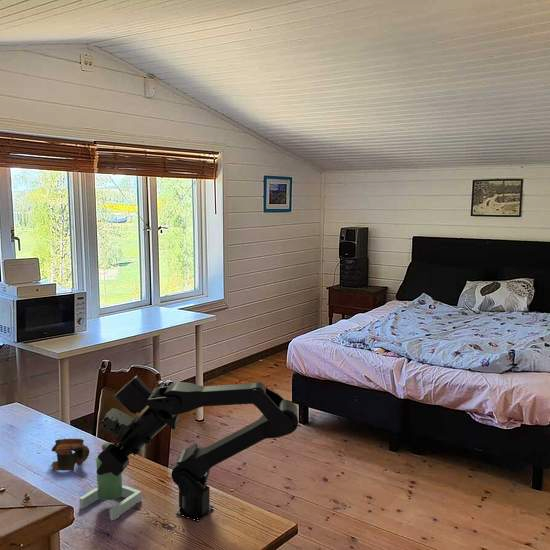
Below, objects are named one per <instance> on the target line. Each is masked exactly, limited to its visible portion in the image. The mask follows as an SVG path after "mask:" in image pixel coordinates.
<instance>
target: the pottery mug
mask: <svg viewBox="0 0 550 550" xmlns="http://www.w3.org/2000/svg"><path fill="white" fill-rule="evenodd" d="M54 442H55V444H54V445H53V446H52V447H51V452H55V453H56V459H57V460H56V461H53V462H52V463H51V465H52V471H54V472H55V471H75V466H76V465H78V466H81V465H83V464H84V463H85V462H86V460H87V459H88V457H89V455H90V448H89V447H88V446H87V445H85V444H84V442H85V440H84V439H82V438H61V439H60V438H59V439H56V440H55V441H54Z"/></svg>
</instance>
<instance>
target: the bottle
mask: <svg viewBox="0 0 550 550" xmlns="http://www.w3.org/2000/svg"><path fill="white" fill-rule="evenodd" d="M109 444H115V442H105V443H103V444H102V445H101V450H102V451H103V450H104V449H105V448H106V447H107V446H108V445H109ZM95 461H96V471H97V470H98V468H99V467H100V465H101V463H102V462H101V461H100V460H99V459H98V456H97V457H96V459H95ZM96 480H97V481H96V482H97V484H96V488H98V497H99V498H100V500H104V501H111V500H116V499H117V498H119V497H121V496H120V495H121V494H122V485H123V472H121V473H120V474H119V475H118V476H115V475H114V474H113V473H112V472H110V473H106V474H102V475H98V474H97V473H96Z"/></svg>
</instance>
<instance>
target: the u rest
mask: <svg viewBox="0 0 550 550" xmlns="http://www.w3.org/2000/svg"><path fill="white" fill-rule="evenodd" d="M119 497H121V498H124V499H123V500H122V501H120V502H119V503H117V504H115V505H114V506H113V507H111V508H110V509H109V520H110V519H112V520H114V519H115V518H117V517H118V516H120V515H121V514H122V515H124V514H125V513H126V512H125V511H127V510H128V509H129V510H131V509H132V508H133V507H132V506H134V505H135V504H136V503H138V502H139V503H141V502H142V501H143V500H142V491H141V490H139V489H135V488H133V487H130V486H127V485H125V484H122V494H121V495H120V496H119ZM99 499H100V498H99V497H98V488H97V487H95V488H94V489H92V490H89V492H87V493H86V494H84V495H82V496H81V497H79V509H81V508H82V509H81V510H83V508H84V509H85V508H87V507H88V505H89V506H91V504H94V503H95V502H96V501H98V500H99ZM100 500H101V499H100ZM141 500H142V501H141ZM140 501H141V502H140ZM139 503H138V504H139ZM135 506H136V505H135ZM135 506H134V507H135ZM131 507H132V508H131ZM130 508H131V509H130ZM129 510H128V511H129ZM128 511H127V512H128ZM124 512H125V513H124ZM123 513H124V514H123ZM122 515H121V516H122ZM121 516H120V517H121ZM118 518H119V517H118ZM118 518H117V519H118ZM112 520H111V521H112ZM115 520H116V519H115ZM115 520H114V521H115Z"/></svg>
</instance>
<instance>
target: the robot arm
mask: <svg viewBox="0 0 550 550" xmlns="http://www.w3.org/2000/svg"><path fill="white" fill-rule="evenodd" d="M113 397H114V398H115V399H116V400H117V401H118V402H120V404H121V405H122V406H123V407H125V409H127V410H128V411H129V412H130V413H131V414H133V415H136V414H137V413H138V414H140V413H141V414H140V415H137V416H135V418H133V417H131V416H130V415H129V414H127V413H125V412H123V411H121V410H119V409H117V408H114V407H113V408H111V409H110V410H109V411H107V412H106V414H105V415H104V418H103V419H102V420H101V422H100V424H101V425H100V427H101V428H102V430H103V431H106V432H108V433H110V434H115V435H116V436H115V439H116V440H117V441H118V443H117V444H116V443H114V444H109V445H108V446H107V447H106V448H105V449H104V450H102V451H101V452H100V453H99V454H98V455H97V457H98V459H99V460H100V461H101V462H102V463H101V465H100V467H99V468H98V470H97V469H96V471H95V472H96V475H97V474H98V475H102V474H106V473H110V472H112V473H113V474H114V475H115V476H118V475H119V474H120V473H121V472H122V473H123V472H124V471H125V470H126V468H127V467H128V466H129V465H130V458H129V457H128V456H130V455H132V454H133V456H136V455H137V454H138V453H139V452H140V451H141V449H142V448H143V447H144V446H145V445H148V444H149V443H150V442H151V441H152V440H153V438H154V437H155V436H156V435H157V434H158V433H159V432H161V430H162V429H164V427H166V426H168V427H169V428H170V429H171V430H175V429H176V428H177V426H178V425H179V415H181V414H185V413H189V412H190V413H191V412H192V411H194V410H196V409H199V408H204V407H216V406H217V407H218V406H221V407H222V406H233V405H235V406H237V405H248V404H249V405H251V404H252V405H253V406H255V408H257V409H258V410H259V411H260V413H261V414H262V415H261V416H260V417H259V419H257V420H255V421H253V422H251V423H250V424H248V425H245V426H243V427H242V428H240V429H238V430H236V431H234V432H232V433H231V434H229V435H227V436H225V437H223V438H221V439H220V440H217V441H216V442H213V443H212V444H210V445H208V446H206V447H199V445H198V443H197V442H195V443H194V444H192V445H191V446H190V447H188V448H182V449H181V451H180V454H179V455H178V456H177V459H176V461H175V464H174V466H173V468H172V471H171V474H170V475H171V480H172V482H173V483H174V484H175V485H176V486H177V487H178V507H179V508H178V509H177V510H176V511H175V514H176V513H177V514H180V515H184V516H186V517H189V518H192V519H195V520H199V519H200V518H202V517H203V516H204V515H205V514H206V513H208V512H209V511H210V510H211V509H212V508H213V509H214V505H212V504H210V503H211V502H210V501H211V500H210V497H211V496H210V494H211V492H210V490H211V489H210V488H211V487H210V486H208V484H207V482H208V479H209V475H210V470H211V469H212V468H213V467H214V466H217V465H218V464H220V463H222V462H224V461H226V460H228V459H230V458H231V457H234V456H235V455H237V454H240V453H241V452H243V451H245V450H247V449H249V448H252V446H255V445H257V444H258V443H260V442H262V441H264V440H268V439H278V438H281V437H284V436H285V437H286V436H287V435H291V434H292V433H294V432H295V431H296V430H297V428H298V425H299V415H298V414H299V413H298V412H299V411H298V407H297V404H295V403H294V402H293V401H292V400H288V399H285V398H283V397H282V396H281V395H280V394H279V393H277V392H275V391H274V390H272V389H270V388H268V387H267V386H266V385H265V384H264V383H262V382H259V381H255V382H252V383H237V384H236V383H235V384H221V385H218V384H217V385H200V384H199V385H198V384H196V383H192V382H186V381H185V382H184V381H175V382H174V381H173V382H172V383H171V384H169V385H168V386H160V387H155V388H153V390H152V389H151V388H150V387H149V386H148V385H147V384H146V383H145V382H143V380H142V379H141V377H139V376H138V375H135V376H134V377H133V378H132V379H131V380H129V381H127V382H126V383H125V385H123V387H121V389H120V390H118V392H116V394H115V395H114V396H113ZM147 406H148V407H147ZM146 407H147V408H146ZM145 408H146V409H145ZM144 409H145V410H144ZM143 410H144V411H143ZM142 411H143V412H142ZM213 509H212V510H213ZM212 510H211V511H212ZM211 511H210V512H211ZM210 512H209V513H210ZM209 513H208V514H209ZM177 514H176V515H177ZM180 515H179V516H180ZM205 516H206V515H205ZM205 516H204V517H205ZM186 517H185V518H186ZM204 517H203V518H204ZM189 518H188V519H189ZM197 518H198V519H197ZM203 518H202V519H203Z"/></svg>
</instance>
